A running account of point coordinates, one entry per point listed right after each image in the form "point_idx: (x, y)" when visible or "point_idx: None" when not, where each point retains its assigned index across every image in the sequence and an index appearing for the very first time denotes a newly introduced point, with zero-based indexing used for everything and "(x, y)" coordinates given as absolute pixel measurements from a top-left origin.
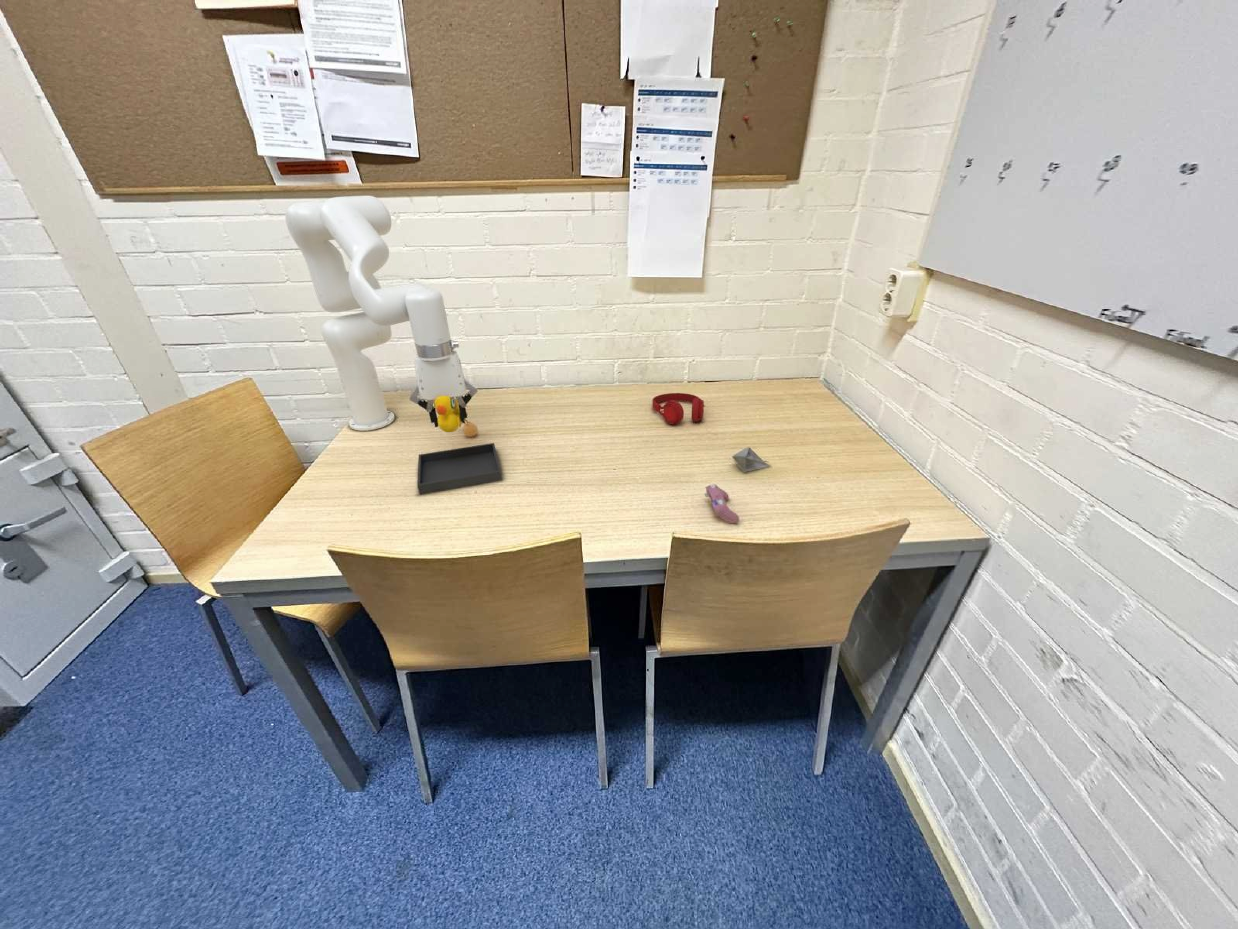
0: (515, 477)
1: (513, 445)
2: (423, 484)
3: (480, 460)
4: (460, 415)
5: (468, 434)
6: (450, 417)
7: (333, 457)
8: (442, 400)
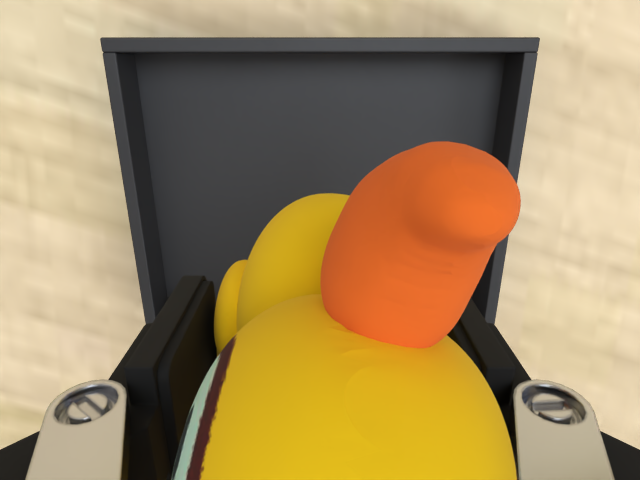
0: (58, 48)
1: (86, 337)
2: (508, 38)
3: (225, 247)
4: (191, 318)
5: None
6: (293, 258)
7: None
8: (366, 437)
